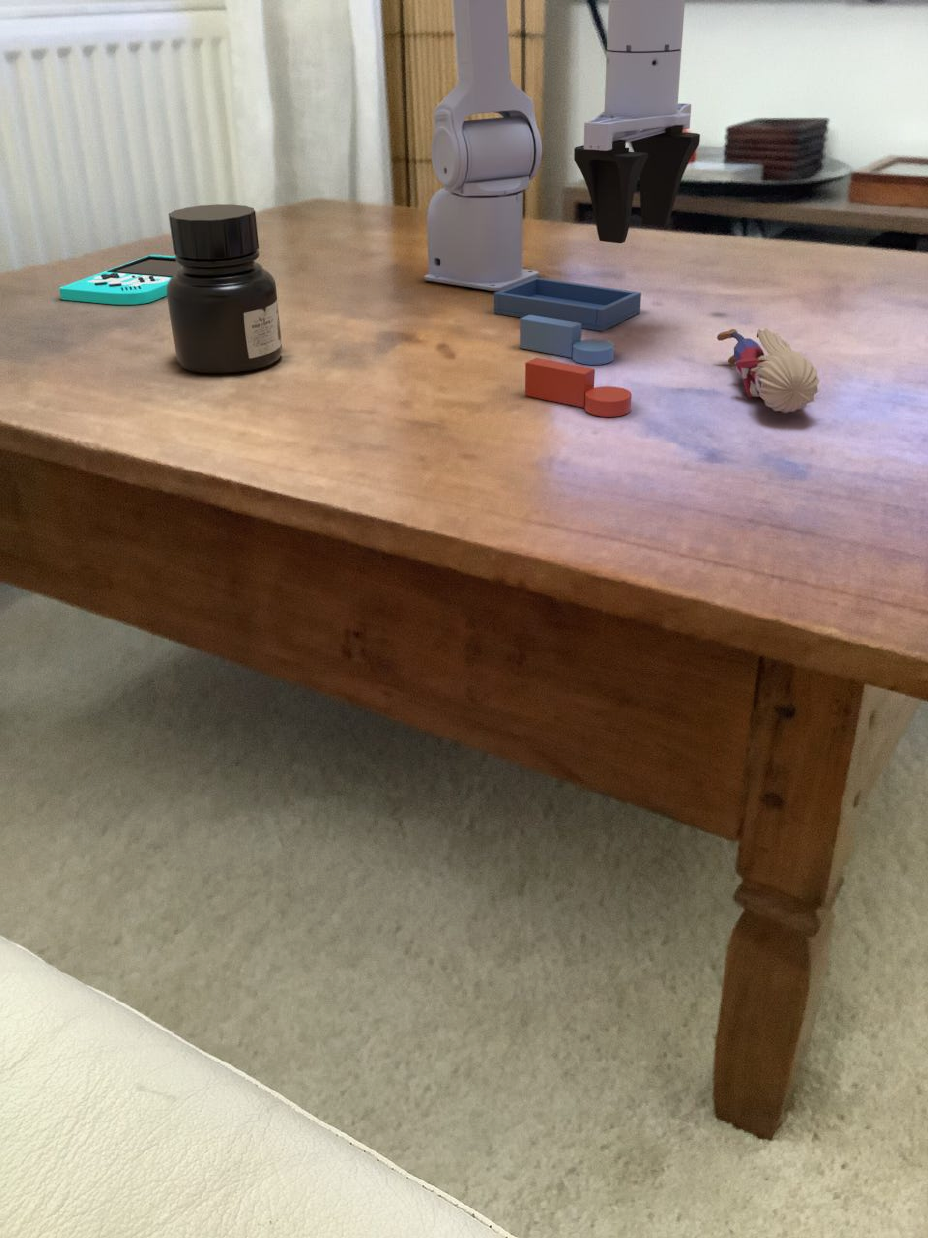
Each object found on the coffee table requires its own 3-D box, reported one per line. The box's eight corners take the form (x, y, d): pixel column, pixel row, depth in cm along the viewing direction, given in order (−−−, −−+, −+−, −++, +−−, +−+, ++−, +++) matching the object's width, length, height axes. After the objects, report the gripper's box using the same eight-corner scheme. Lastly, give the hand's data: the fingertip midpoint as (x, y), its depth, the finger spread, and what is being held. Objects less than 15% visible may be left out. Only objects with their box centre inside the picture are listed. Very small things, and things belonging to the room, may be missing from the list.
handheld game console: (57, 299, 114) (54, 285, 114) (151, 264, 127) (149, 251, 126) (139, 307, 111) (137, 293, 110) (227, 270, 124) (226, 257, 123)
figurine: (699, 323, 90) (751, 371, 77) (748, 296, 90) (809, 339, 76) (728, 385, 93) (783, 441, 79) (776, 359, 92) (840, 411, 79)
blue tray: (493, 312, 107) (493, 292, 106) (534, 296, 112) (534, 276, 111) (601, 331, 101) (602, 310, 100) (640, 312, 106) (641, 292, 105)
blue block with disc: (513, 351, 96) (513, 320, 95) (534, 341, 99) (535, 311, 97) (600, 367, 92) (602, 335, 91) (620, 356, 94) (622, 325, 93)
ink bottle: (284, 374, 92) (269, 220, 86) (174, 381, 91) (150, 226, 85) (281, 340, 100) (267, 198, 94) (180, 347, 99) (159, 203, 93)
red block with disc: (517, 399, 86) (518, 365, 84) (541, 386, 88) (542, 354, 87) (616, 420, 81) (618, 385, 80) (639, 406, 84) (641, 372, 82)
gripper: (647, 57, 80) (636, 255, 87) (731, 44, 90) (715, 222, 97) (561, 55, 83) (557, 245, 90) (651, 43, 94) (641, 214, 100)
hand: (634, 232), depth 94 cm, fingers open, 7 cm apart
